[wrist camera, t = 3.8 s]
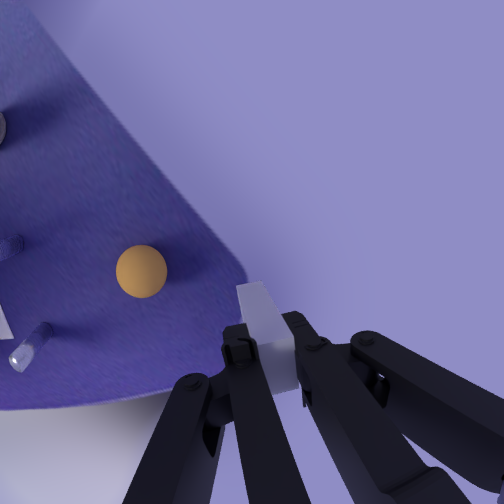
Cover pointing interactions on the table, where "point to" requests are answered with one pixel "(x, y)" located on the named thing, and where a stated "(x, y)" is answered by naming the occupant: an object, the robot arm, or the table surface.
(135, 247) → the ball
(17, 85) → the table surface
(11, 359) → the post
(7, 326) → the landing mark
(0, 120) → the carving
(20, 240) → the post
